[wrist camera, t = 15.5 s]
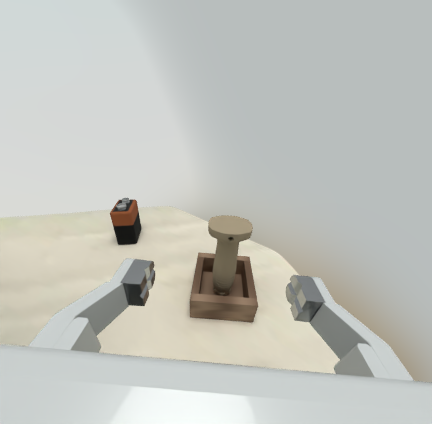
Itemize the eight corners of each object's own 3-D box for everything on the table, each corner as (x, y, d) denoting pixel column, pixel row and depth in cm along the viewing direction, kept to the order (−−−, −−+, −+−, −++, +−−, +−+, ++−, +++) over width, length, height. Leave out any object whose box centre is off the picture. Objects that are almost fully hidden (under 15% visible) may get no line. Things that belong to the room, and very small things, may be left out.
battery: (117, 245, 42) (107, 209, 37) (125, 229, 48) (117, 196, 43) (136, 244, 43) (129, 208, 38) (141, 228, 48) (136, 195, 43)
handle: (205, 278, 35) (209, 214, 27) (237, 280, 35) (249, 217, 27) (203, 301, 31) (207, 232, 23) (239, 303, 31) (255, 235, 23)
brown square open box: (189, 317, 28) (189, 300, 26) (198, 268, 38) (198, 252, 35) (252, 322, 28) (258, 305, 26) (245, 272, 38) (249, 256, 35)
